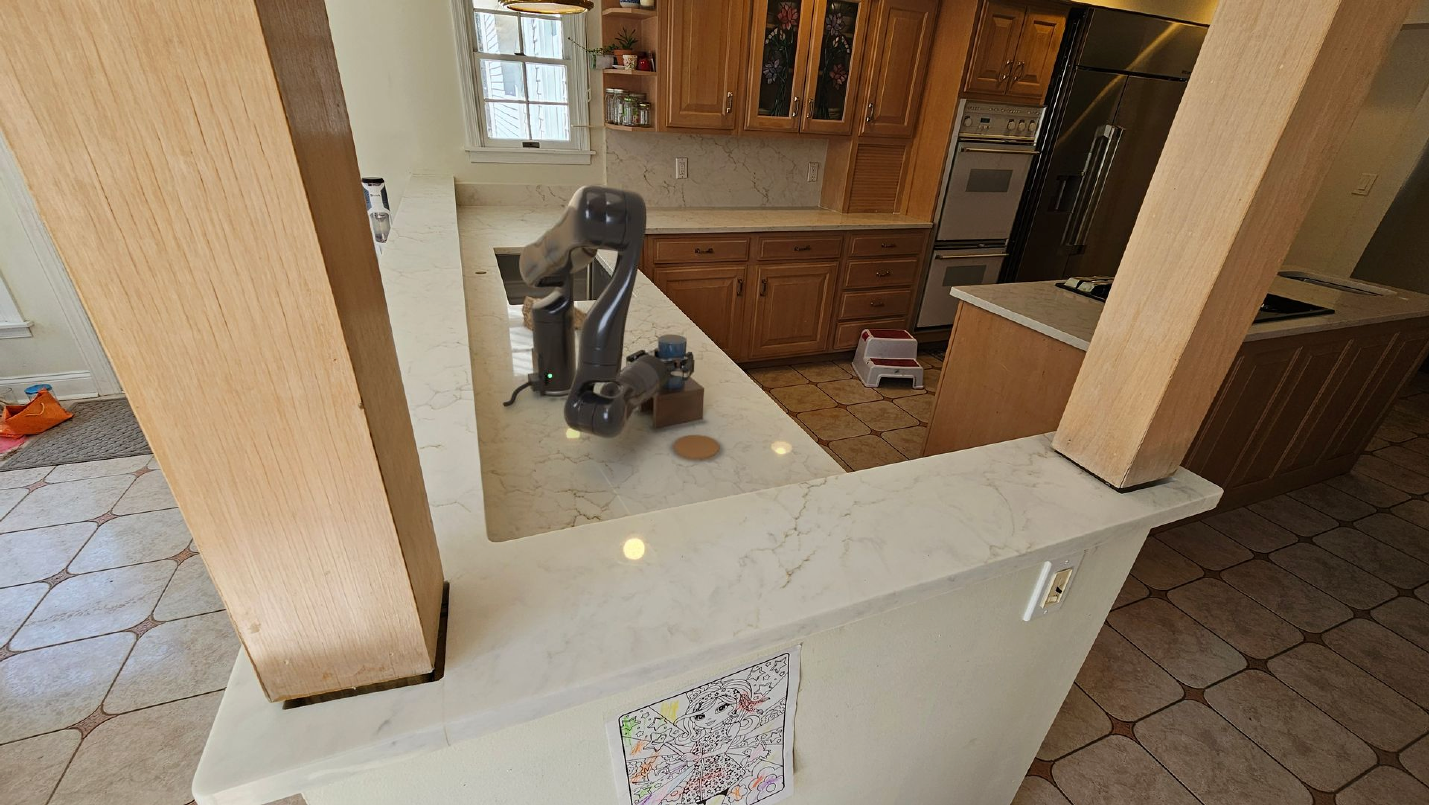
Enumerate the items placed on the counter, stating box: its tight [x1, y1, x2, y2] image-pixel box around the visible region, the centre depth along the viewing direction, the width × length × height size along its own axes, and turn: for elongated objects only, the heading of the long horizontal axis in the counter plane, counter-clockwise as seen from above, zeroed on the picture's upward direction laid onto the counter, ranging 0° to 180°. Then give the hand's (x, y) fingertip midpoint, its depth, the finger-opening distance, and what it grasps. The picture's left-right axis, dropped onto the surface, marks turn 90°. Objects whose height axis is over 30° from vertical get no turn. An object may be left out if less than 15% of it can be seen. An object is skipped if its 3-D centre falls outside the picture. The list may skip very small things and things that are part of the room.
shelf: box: [637, 376, 705, 430], centre depth 132 cm, size 11×10×8 cm
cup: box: [657, 334, 688, 389], centre depth 129 cm, size 6×6×10 cm
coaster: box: [673, 434, 720, 461], centre depth 122 cm, size 9×9×1 cm
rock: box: [521, 296, 588, 331], centre depth 180 cm, size 28×22×16 cm
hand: (676, 353), depth 130 cm, fingers closed on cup, 6 cm apart
